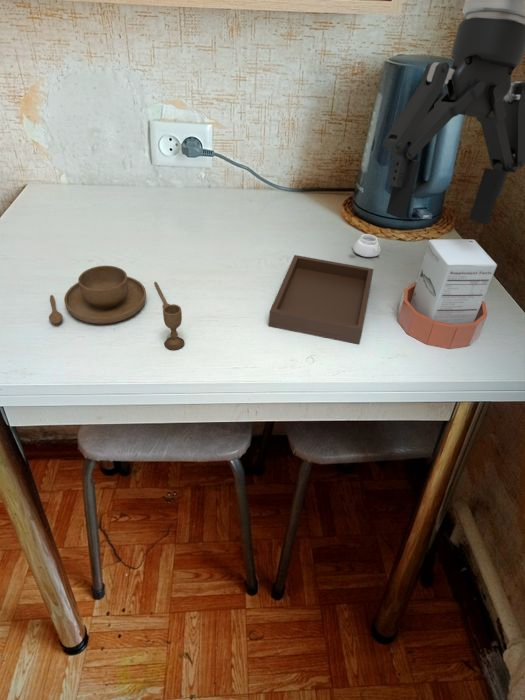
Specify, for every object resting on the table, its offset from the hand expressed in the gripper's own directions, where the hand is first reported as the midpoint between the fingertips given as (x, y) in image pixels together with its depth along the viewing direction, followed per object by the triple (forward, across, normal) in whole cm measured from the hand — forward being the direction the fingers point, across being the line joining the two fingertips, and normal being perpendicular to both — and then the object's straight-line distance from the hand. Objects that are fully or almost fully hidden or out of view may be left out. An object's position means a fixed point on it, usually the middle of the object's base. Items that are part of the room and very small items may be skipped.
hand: (438, 219), depth 64 cm
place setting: (+22, +36, -20) cm, 47 cm away
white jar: (+12, -10, -27) cm, 31 cm away
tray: (+17, +5, -15) cm, 23 cm away
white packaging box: (+17, -10, -4) cm, 20 cm away
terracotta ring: (+17, -10, -4) cm, 20 cm away
